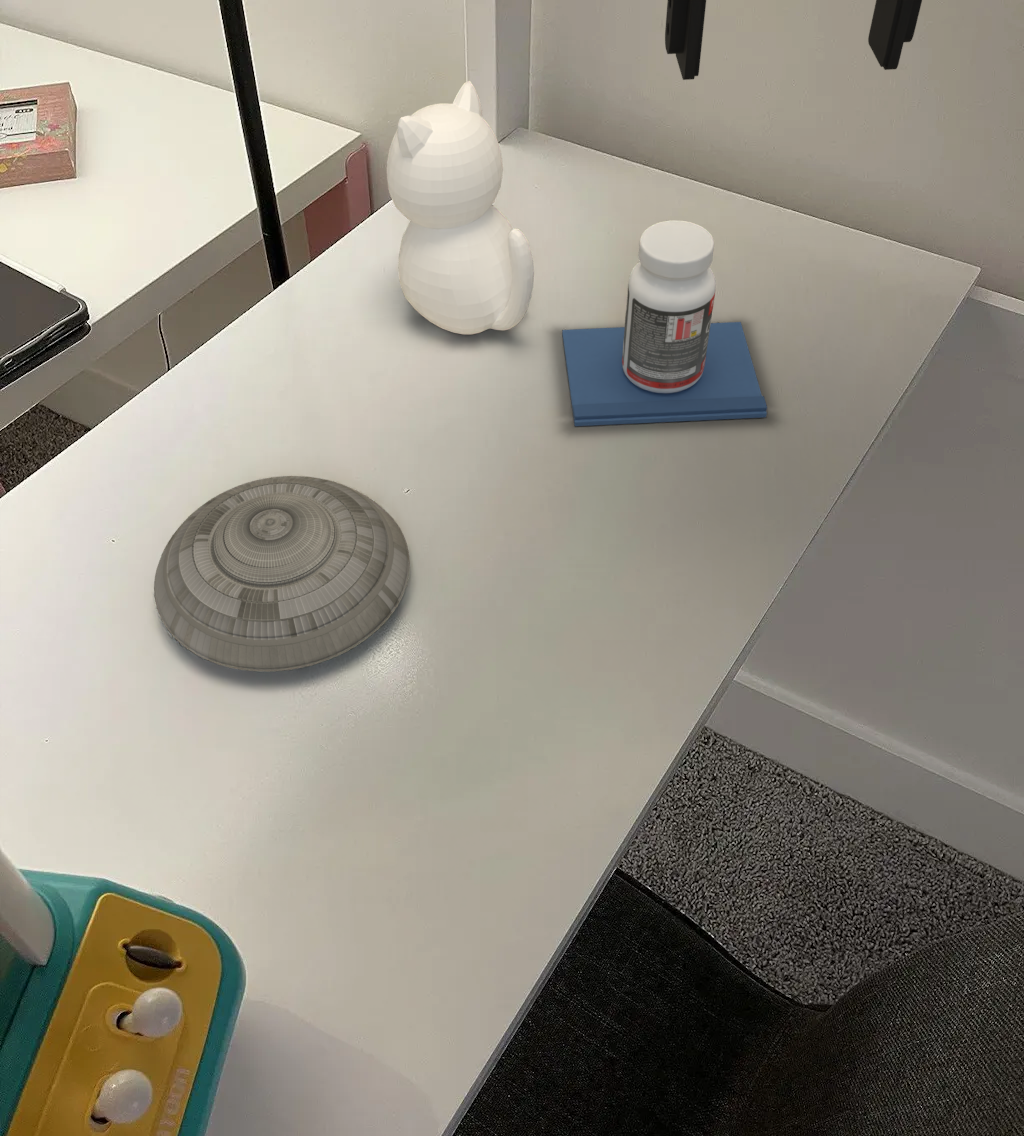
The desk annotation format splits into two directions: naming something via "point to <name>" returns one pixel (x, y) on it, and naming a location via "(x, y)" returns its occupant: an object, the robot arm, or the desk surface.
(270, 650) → the flying saucer
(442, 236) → the cat figurine
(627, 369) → the pill bottle
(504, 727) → the desk surface
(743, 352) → the cloth
